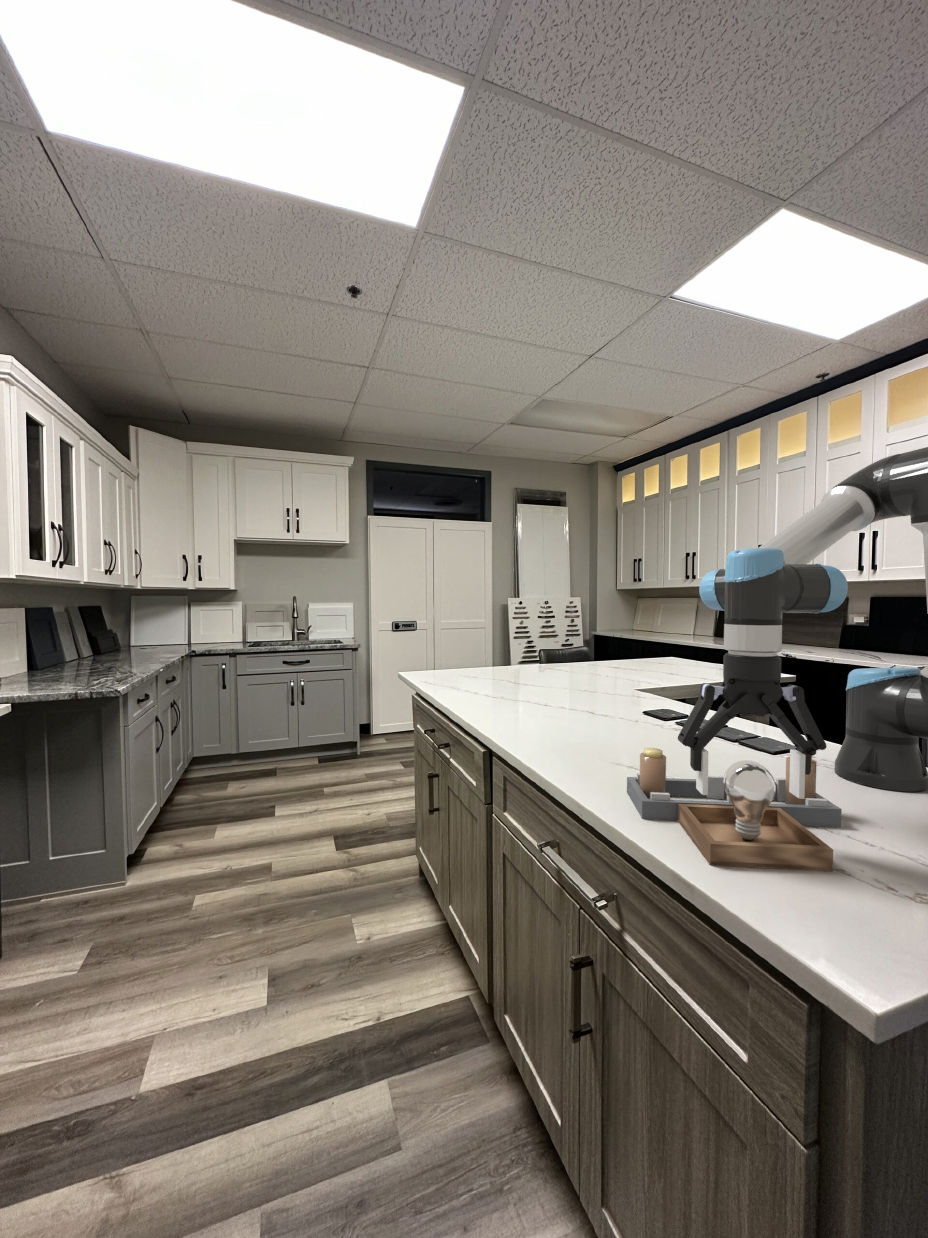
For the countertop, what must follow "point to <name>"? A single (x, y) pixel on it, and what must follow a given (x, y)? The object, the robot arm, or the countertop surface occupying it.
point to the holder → (666, 809)
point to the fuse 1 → (652, 771)
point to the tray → (773, 848)
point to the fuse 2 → (809, 785)
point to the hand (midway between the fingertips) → (748, 793)
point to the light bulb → (749, 795)
